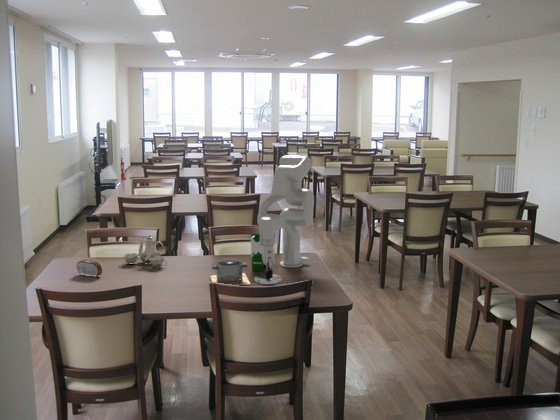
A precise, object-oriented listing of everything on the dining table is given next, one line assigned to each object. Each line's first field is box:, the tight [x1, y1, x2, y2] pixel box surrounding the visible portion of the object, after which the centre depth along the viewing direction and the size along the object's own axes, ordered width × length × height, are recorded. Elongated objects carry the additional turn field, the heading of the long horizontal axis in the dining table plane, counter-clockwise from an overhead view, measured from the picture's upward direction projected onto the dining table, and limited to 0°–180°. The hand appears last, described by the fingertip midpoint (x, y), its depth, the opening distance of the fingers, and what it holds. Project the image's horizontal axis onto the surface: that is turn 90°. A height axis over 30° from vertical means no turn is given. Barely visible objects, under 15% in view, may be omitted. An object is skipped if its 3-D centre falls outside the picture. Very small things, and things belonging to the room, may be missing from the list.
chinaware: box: [122, 234, 168, 269], centre depth 322 cm, size 28×17×17 cm, turn 72°
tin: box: [76, 259, 103, 277], centre depth 302 cm, size 15×3×8 cm, turn 65°
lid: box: [253, 268, 283, 285], centre depth 293 cm, size 14×14×6 cm
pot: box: [209, 258, 251, 286], centre depth 291 cm, size 18×18×10 cm
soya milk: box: [250, 232, 263, 272], centre depth 311 cm, size 9×9×20 cm
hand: (267, 275), depth 293 cm, fingers open, 6 cm apart
